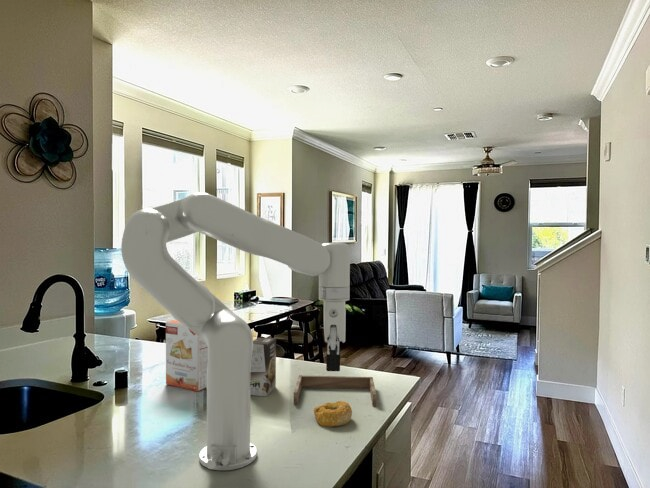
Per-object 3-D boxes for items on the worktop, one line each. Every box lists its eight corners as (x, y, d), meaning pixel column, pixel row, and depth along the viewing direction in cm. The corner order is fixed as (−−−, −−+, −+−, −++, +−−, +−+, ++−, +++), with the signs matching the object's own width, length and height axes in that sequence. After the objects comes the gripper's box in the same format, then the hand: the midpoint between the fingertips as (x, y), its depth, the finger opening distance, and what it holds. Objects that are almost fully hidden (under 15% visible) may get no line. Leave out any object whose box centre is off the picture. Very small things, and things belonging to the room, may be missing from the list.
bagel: (331, 409, 132) (331, 393, 132) (360, 421, 124) (360, 404, 124) (305, 419, 125) (305, 401, 125) (333, 433, 117) (333, 414, 117)
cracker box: (164, 385, 151) (164, 321, 150) (178, 380, 156) (178, 318, 156) (197, 392, 144) (197, 325, 144) (210, 386, 150) (210, 322, 149)
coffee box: (267, 396, 141) (267, 344, 141) (247, 395, 142) (247, 343, 142) (276, 387, 150) (276, 337, 150) (257, 385, 151) (258, 336, 151)
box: (376, 406, 134) (376, 394, 134) (293, 404, 135) (293, 392, 135) (372, 387, 150) (372, 377, 150) (298, 386, 151) (298, 375, 151)
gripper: (350, 299, 104) (349, 377, 104) (349, 289, 121) (348, 356, 122) (316, 298, 104) (316, 376, 104) (320, 288, 121) (319, 356, 122)
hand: (333, 365), depth 113 cm, fingers open, 7 cm apart
